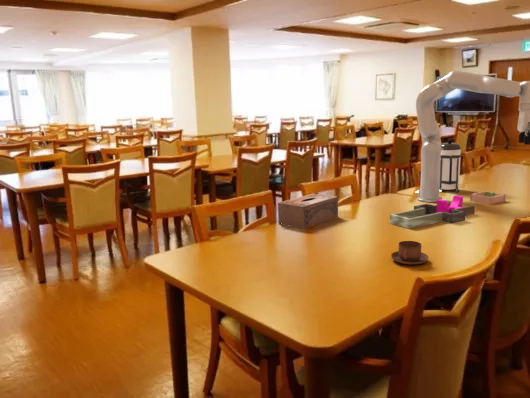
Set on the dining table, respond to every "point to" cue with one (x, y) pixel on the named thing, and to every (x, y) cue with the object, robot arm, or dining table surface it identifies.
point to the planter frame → (487, 198)
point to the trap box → (429, 216)
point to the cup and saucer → (409, 253)
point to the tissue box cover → (307, 210)
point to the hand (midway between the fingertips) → (524, 143)
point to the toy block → (444, 207)
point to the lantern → (450, 166)
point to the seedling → (490, 194)
